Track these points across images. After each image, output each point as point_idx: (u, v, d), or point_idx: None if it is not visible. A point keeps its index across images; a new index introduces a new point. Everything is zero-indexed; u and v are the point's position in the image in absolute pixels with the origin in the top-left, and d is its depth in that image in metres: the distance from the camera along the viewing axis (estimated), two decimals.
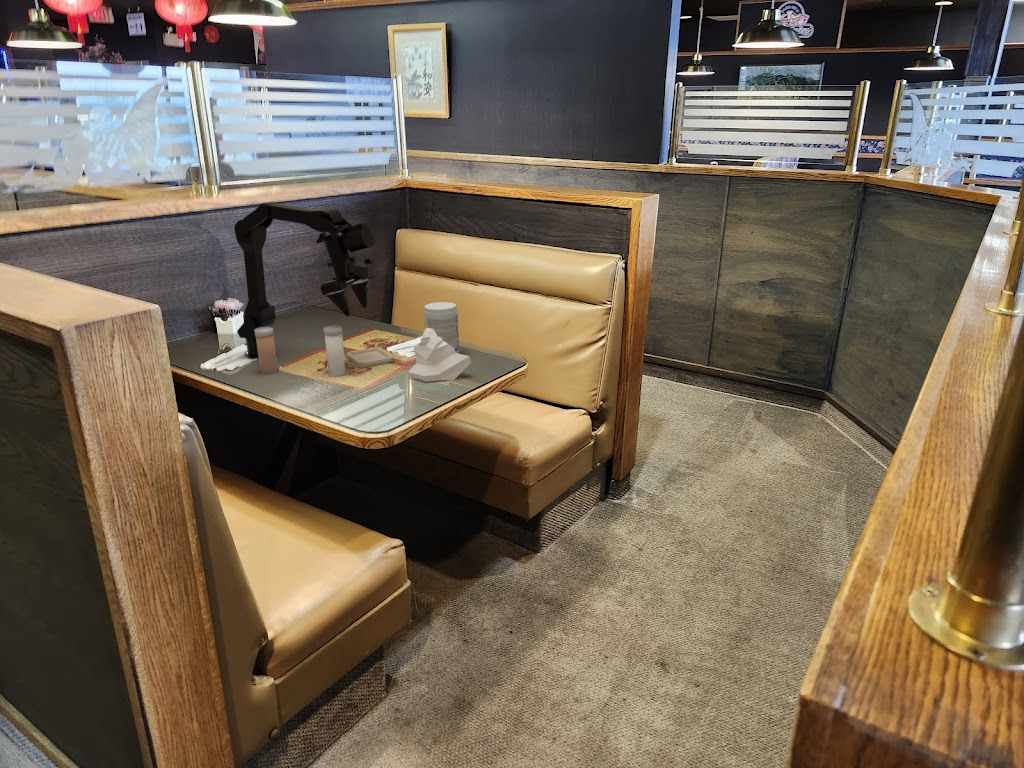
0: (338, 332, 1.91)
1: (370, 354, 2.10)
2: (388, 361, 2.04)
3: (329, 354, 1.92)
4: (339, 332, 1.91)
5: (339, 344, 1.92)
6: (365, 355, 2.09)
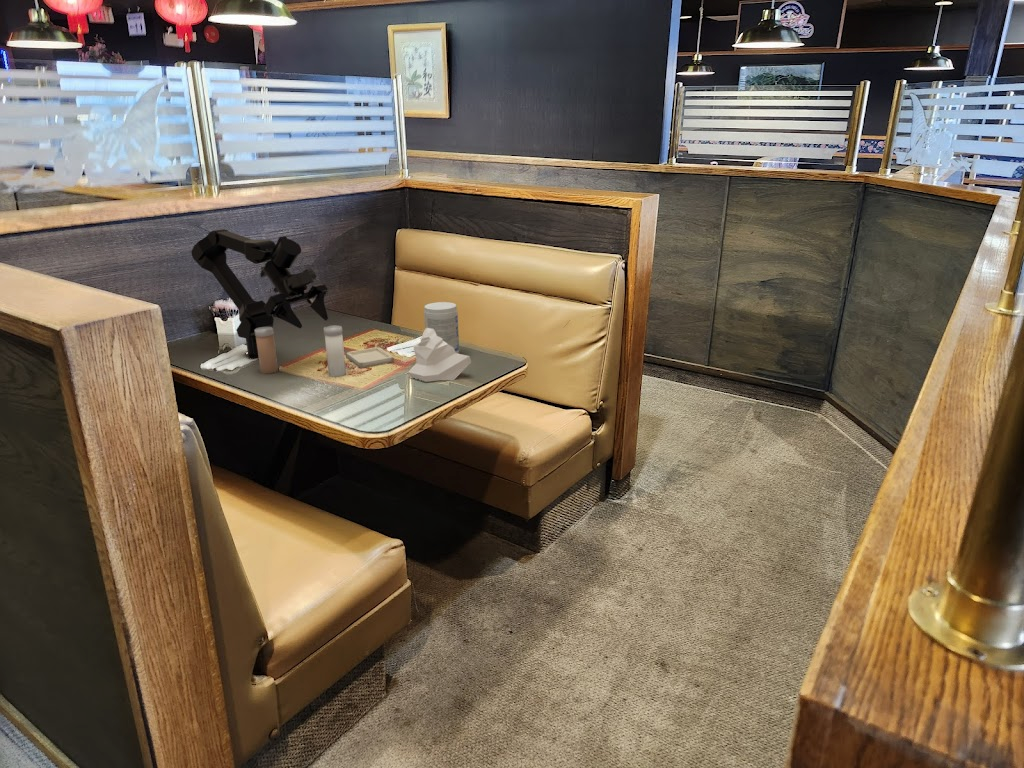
0: (338, 332, 1.91)
1: (370, 354, 2.10)
2: (388, 361, 2.04)
3: (329, 354, 1.92)
4: (339, 332, 1.91)
5: (339, 344, 1.92)
6: (365, 355, 2.09)
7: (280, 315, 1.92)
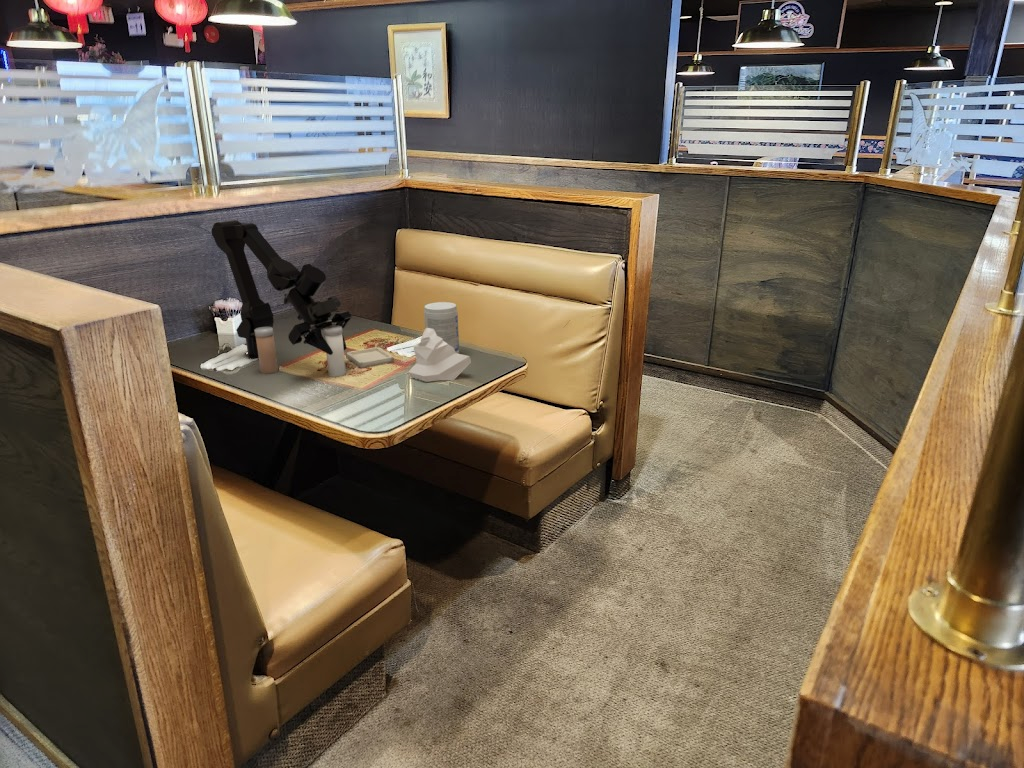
0: (338, 332, 1.91)
1: (370, 354, 2.10)
2: (388, 361, 2.04)
3: None
4: (339, 332, 1.91)
5: (339, 344, 1.92)
6: (365, 355, 2.09)
7: (311, 342, 1.91)
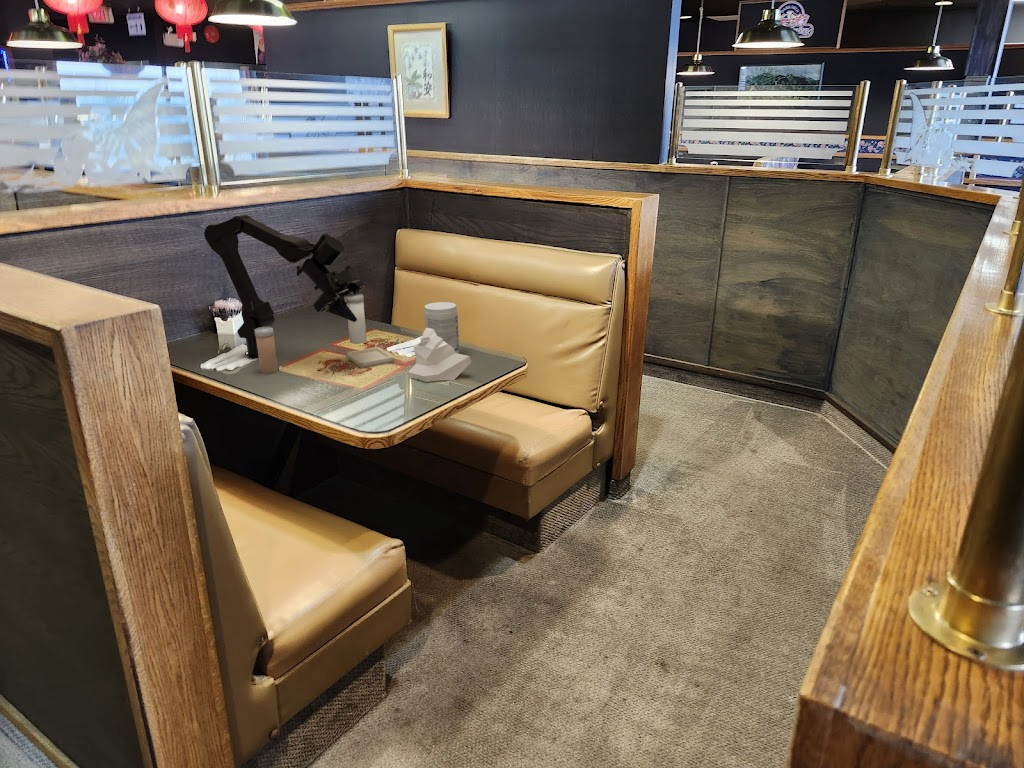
0: (361, 299, 1.96)
1: (370, 354, 2.10)
2: (388, 361, 2.04)
3: (352, 321, 1.96)
4: (362, 299, 1.96)
5: (362, 311, 1.97)
6: (365, 355, 2.09)
7: (333, 310, 1.95)
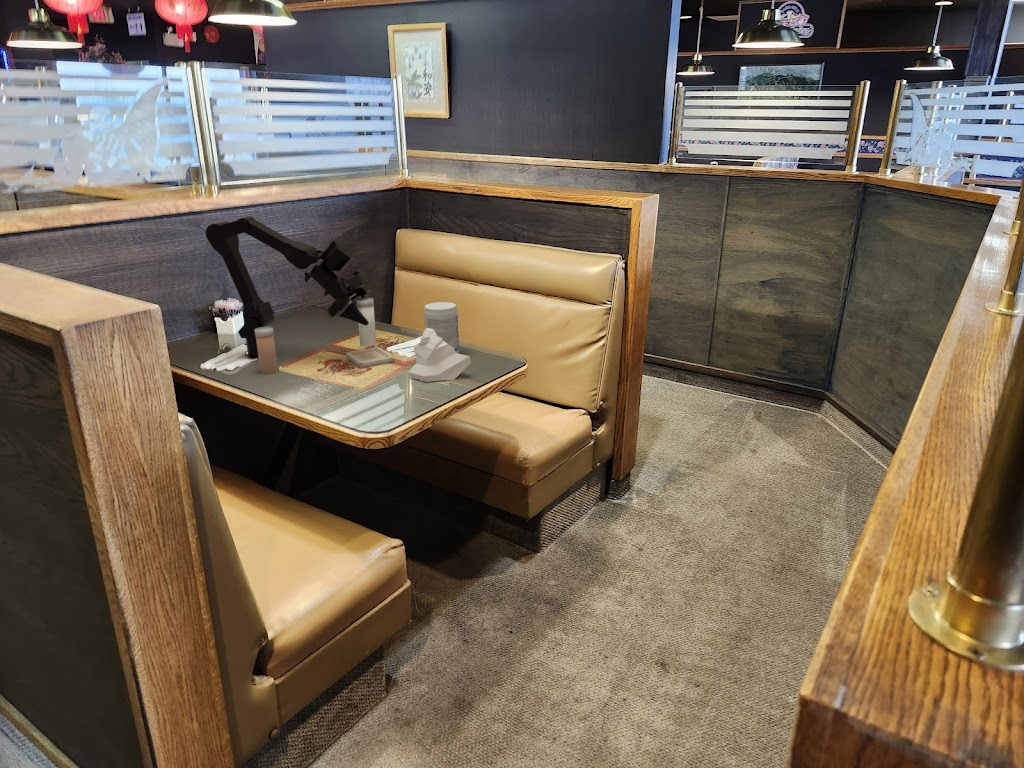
0: (372, 303, 2.01)
1: (370, 354, 2.10)
2: (388, 361, 2.04)
3: (364, 325, 2.02)
4: (373, 303, 2.01)
5: (373, 314, 2.02)
6: (365, 355, 2.09)
7: (345, 315, 1.99)
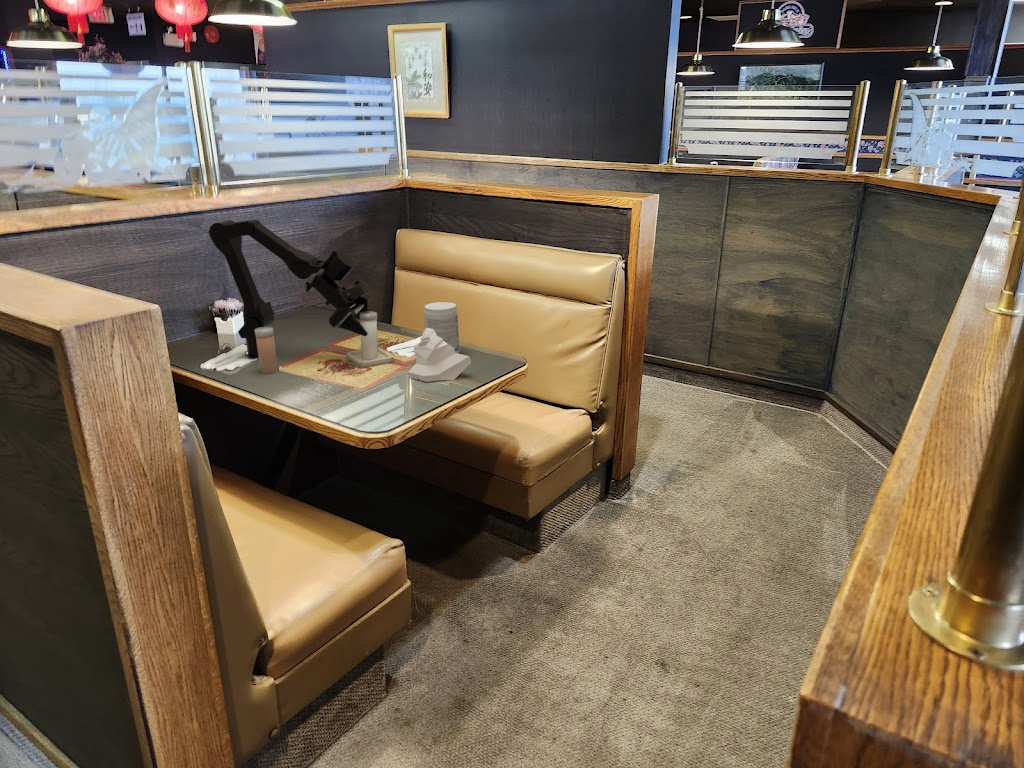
0: (376, 317, 2.03)
1: None
2: (388, 361, 2.04)
3: (366, 338, 2.03)
4: (376, 317, 2.03)
5: (376, 328, 2.04)
6: None
7: (344, 326, 1.99)
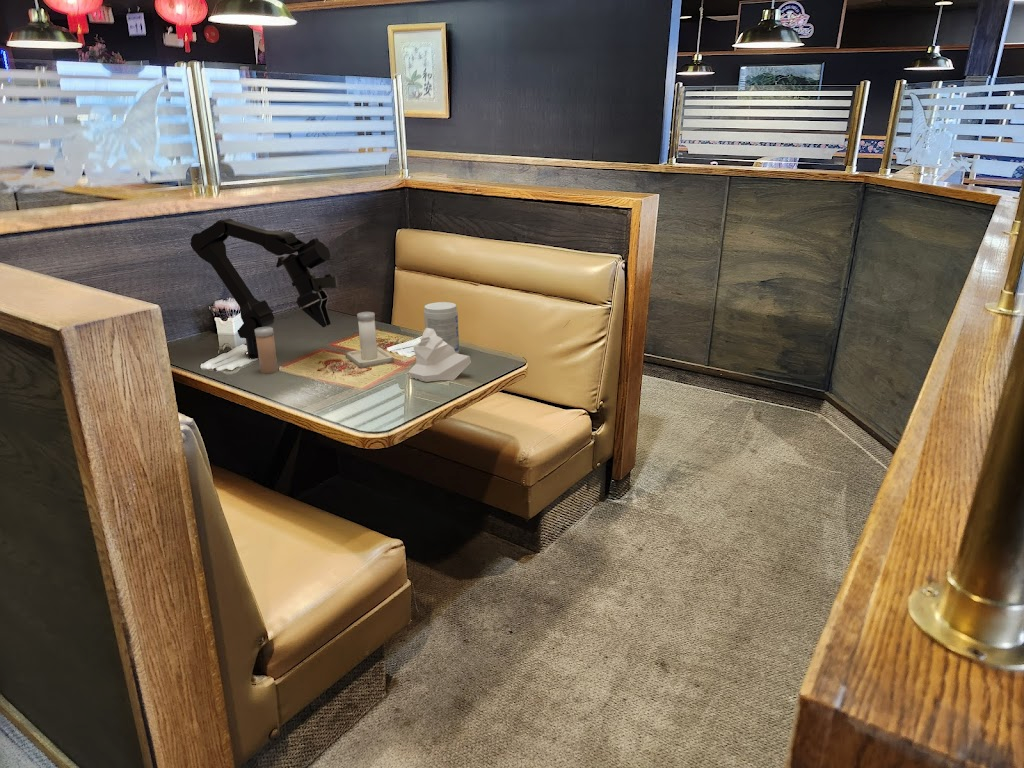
0: (373, 317, 2.03)
1: None
2: (388, 361, 2.04)
3: (365, 339, 2.03)
4: (374, 317, 2.03)
5: (374, 328, 2.04)
6: None
7: (308, 310, 1.96)
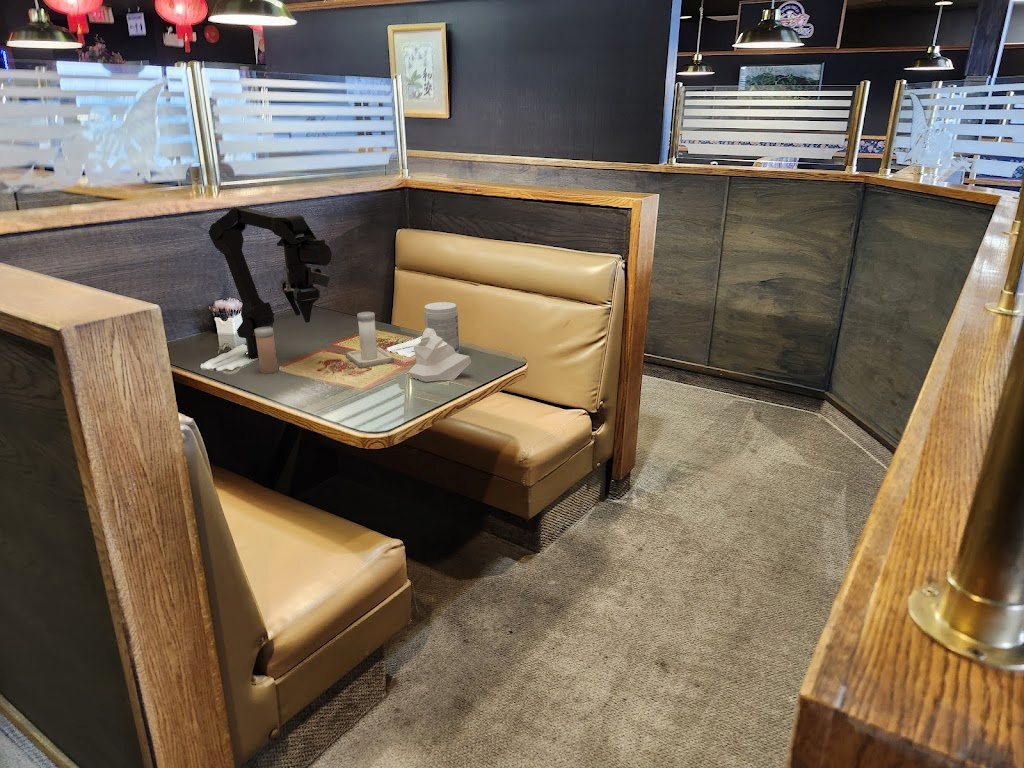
0: (373, 317, 2.03)
1: None
2: (388, 361, 2.04)
3: (365, 339, 2.03)
4: (374, 317, 2.03)
5: (374, 328, 2.04)
6: None
7: (300, 303, 1.93)
